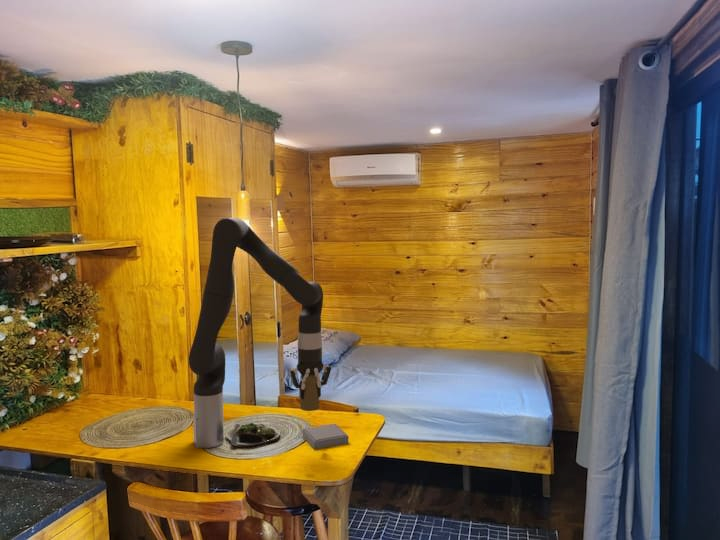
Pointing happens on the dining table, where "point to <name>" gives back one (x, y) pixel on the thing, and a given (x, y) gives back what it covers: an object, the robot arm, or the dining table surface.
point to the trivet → (325, 436)
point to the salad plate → (252, 435)
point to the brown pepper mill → (310, 394)
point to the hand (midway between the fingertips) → (310, 399)
